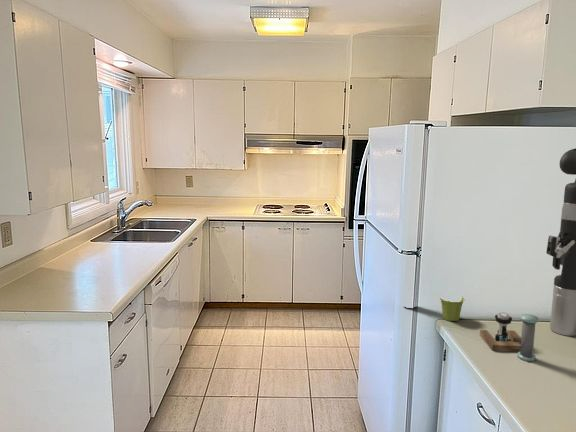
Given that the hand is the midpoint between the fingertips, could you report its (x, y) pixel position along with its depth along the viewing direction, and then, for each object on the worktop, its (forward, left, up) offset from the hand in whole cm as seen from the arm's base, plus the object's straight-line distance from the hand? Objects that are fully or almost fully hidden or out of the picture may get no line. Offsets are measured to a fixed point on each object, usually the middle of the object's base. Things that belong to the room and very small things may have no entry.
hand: (571, 269), depth 135 cm
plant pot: (+26, -32, -30) cm, 51 cm away
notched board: (+14, -11, -30) cm, 35 cm away
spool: (+11, -1, -30) cm, 32 cm away
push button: (+14, -13, -30) cm, 36 cm away
